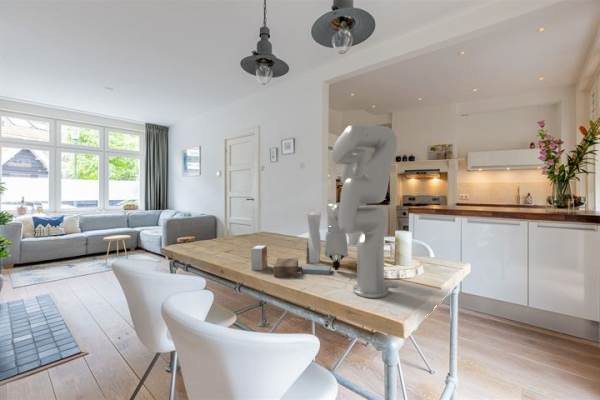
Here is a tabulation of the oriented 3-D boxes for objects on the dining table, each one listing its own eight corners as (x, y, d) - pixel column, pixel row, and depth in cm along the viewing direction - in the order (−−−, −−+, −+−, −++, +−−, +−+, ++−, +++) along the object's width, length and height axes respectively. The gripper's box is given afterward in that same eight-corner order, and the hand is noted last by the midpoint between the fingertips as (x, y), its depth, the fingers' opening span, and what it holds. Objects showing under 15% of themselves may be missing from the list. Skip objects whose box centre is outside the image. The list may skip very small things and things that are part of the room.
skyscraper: (306, 260, 148) (306, 209, 148) (321, 259, 148) (320, 208, 147) (306, 264, 140) (305, 210, 139) (321, 264, 139) (321, 210, 139)
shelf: (302, 267, 132) (302, 258, 132) (301, 276, 118) (301, 266, 118) (277, 267, 133) (277, 258, 132) (274, 276, 119) (273, 266, 118)
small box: (262, 270, 128) (261, 248, 128) (251, 270, 130) (250, 248, 129) (267, 266, 136) (267, 245, 136) (257, 265, 137) (256, 245, 137)
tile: (330, 271, 126) (330, 266, 126) (328, 275, 121) (328, 270, 120) (305, 270, 129) (305, 265, 129) (302, 274, 123) (302, 268, 123)
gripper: (351, 228, 127) (351, 267, 128) (319, 228, 128) (320, 267, 129) (353, 230, 120) (354, 271, 120) (320, 231, 121) (320, 271, 121)
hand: (336, 269), depth 125 cm, fingers closed
